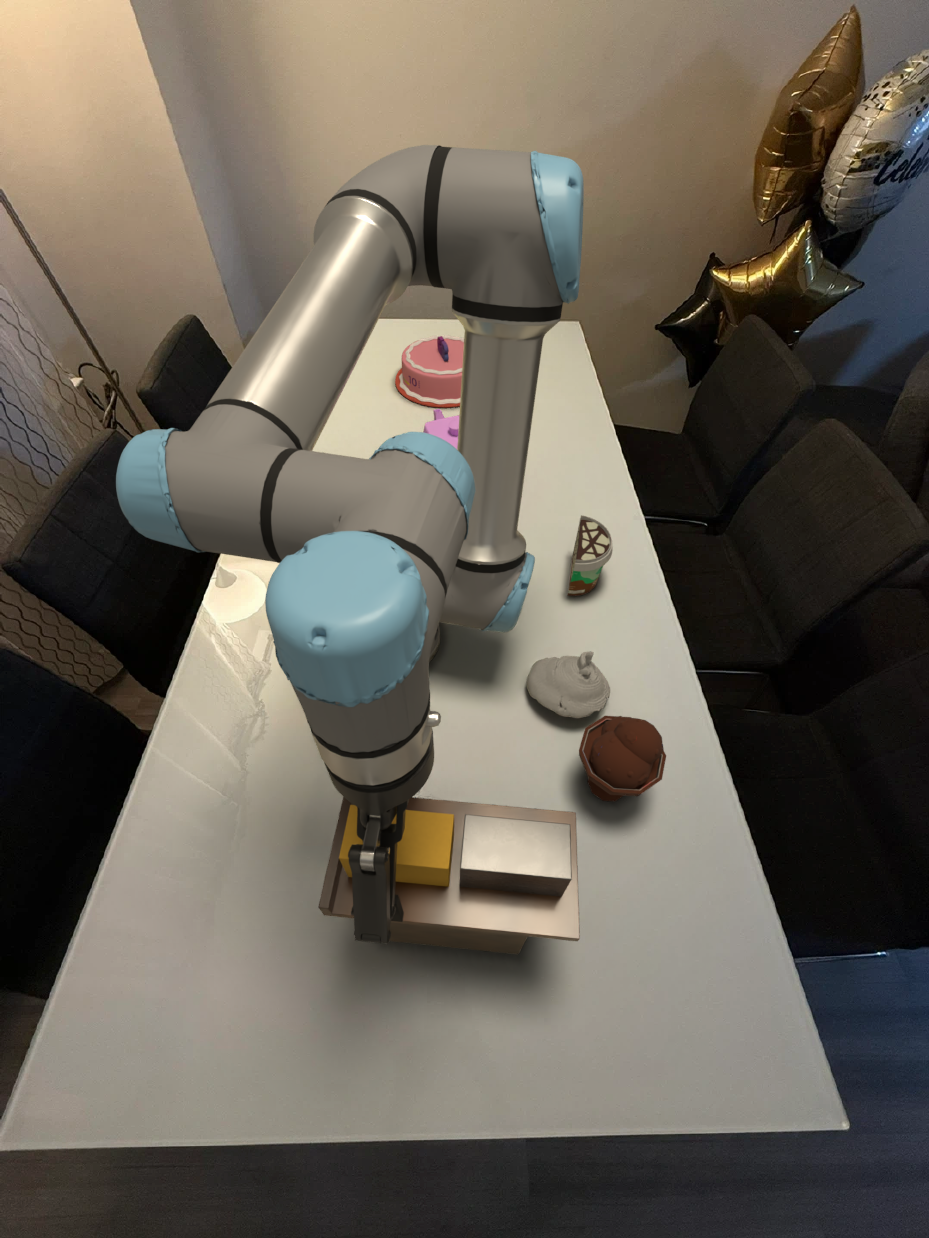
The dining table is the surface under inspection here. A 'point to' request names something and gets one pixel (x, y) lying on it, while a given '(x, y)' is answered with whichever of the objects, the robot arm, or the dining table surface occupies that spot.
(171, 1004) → the dining table surface
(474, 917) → the serving tray
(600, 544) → the food container
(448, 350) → the cake
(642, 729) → the ice cream bowl
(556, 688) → the grey clay mound
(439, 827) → the mustard back pad
